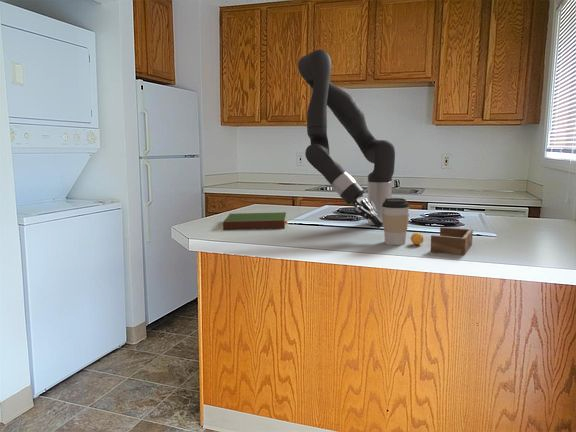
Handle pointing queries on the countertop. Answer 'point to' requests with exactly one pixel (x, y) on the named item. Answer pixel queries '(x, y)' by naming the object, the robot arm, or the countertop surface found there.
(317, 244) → the countertop surface
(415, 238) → the ball
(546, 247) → the countertop surface
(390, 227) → the coffee cup
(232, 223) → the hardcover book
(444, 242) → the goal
